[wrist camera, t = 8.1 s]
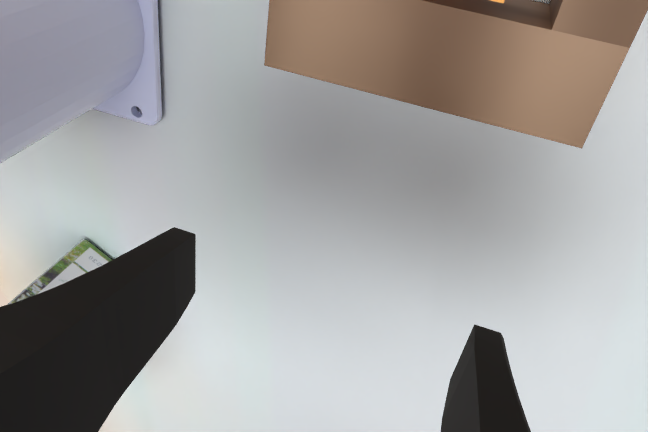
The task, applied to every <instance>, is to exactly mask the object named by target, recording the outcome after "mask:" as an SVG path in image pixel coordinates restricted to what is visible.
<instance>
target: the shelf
mask: <svg viewBox="0 0 648 432" xmlns="http://www.w3.org/2000/svg"><path fill="white" fill-rule="evenodd" d="M647 10H648V0H551V1H550V3H549V4H546V3H541V2H537V1H532V0H505V1H504V3H499V2H495V1H490V0H269V13H268V25H267V38H266V51H265V64H264V65H265V66H269V67H273V68H277V69H280V70H284V71H288V72H292V73H296V74H299V75H303V76H307V77H311V78H315V79H319V80H322V81H326V82H330V83H334V84H338V85H342V86H345V87H349V88H353V89H357V90H361V91H365V92H368V93H372V94H376V95H380V96H384V97H387V98H391V99H395V100H399V101H403V102H407V103H410V104H414V105H418V106H422V107H426V108H430V109H433V110H437V111H441V112H445V113H449V114H453V115H456V116H460V117H464V118H468V119H472V120H475V121H479V122H483V123H487V124H491V125H495V126H498V127H502V128H506V129H510V130H514V131H518V132H521V133H525V134H529V135H533V136H537V137H540V138H544V139H548V140H552V141H556V142H560V143H563V144H567V145H571V146H575V147H579V148H582V147H583V145H584V142H585V140H586V138H587V136H588V134H589V132H590V130H591V128H592V126H593V124H594V122H595V119H596V117H597V115H598V113H599V111H600V109H601V107H602V105H603V103H604V101H605V98H606V96H607V94H608V92H609V90H610V88H611V86H612V84H613V82H614V80H615V77H616V75H617V73H618V71H619V69H620V67H621V65H622V63H623V61H624V59H625V57H626V54H627V52H628V50H629V48H630V46H631V44H632V42H633V40H634V38H635V36H636V33H637V31H638V29H639V27H640V25H641V23H642V21H643V19H644V17H645V15H646V12H647Z"/></svg>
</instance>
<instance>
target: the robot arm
mask: <svg viewBox="0 0 648 432" xmlns="http://www.w3.org/2000/svg"><path fill="white" fill-rule="evenodd" d="M136 106H137V107H139V108H140V110H141V111H142V114H141V113H139V111H138V110H137V108H136ZM91 109H95V110H98V111H102V112H105V113H109V114H112V115H115V116H119V117H122V118H126V119H129V120H133V121H136V122H139V123H143V124H146V125H155V124H156V123H158V122H159V121H160V120H161V118H162V102H161V76H160V50H159V24H158V0H0V163H2V162H3V161H5V160H7V159H8V158H10V157H12V156H13V155H15V154H17V153H18V152H20V151H22V150H23V149H25V148H27V147H28V146H30V145H32V144H34V143H35V142H37V141H39V140H40V139H42V138H44V137H45V136H47V135H49V134H50V133H52V132H54V131H55V130H57V129H59V128H60V127H62V126H64V125H65V124H67V123H69V122H70V121H72V120H74V119H75V118H77V117H79V116H80V115H82V114H84V113H85V112H87V111H89V110H91ZM194 293H195V234H193V233H190V232H187V231H184V230H181V229H178V228H175V227H174V228H172V229H170V230H168V231H166V232H164V233H162V234H160V235H158V236H157V237H155V238H153V239H151V240H149V241H147V242H145V243H144V244H142V245H140V246H138V247H136V248H134V249H133V250H131V251H129V252H127V253H125V254H123V255H121V256H119V257H117V258H115V259H114V260H112V261H110V262H108V263H106V264H104V265H102V266H100V267H98V268H96V269H94V270H91V271H89V272H87V273H85V274H83V275H81V276H79V277H76V278H74V279H72V280H70V281H68V282H66V283H64V284H61V285H59V286H57V287H54V288H52V289H49V290H47V291H44V292H42V293H39V294H36V295H34V296H31V297H28V298H26V299H23V300H20V301H18V302H15V303H12V304H8V305H5V306H2V307H0V432H98V431H99V429H100V428H101V426H102V425H103V423H104V421H105V420H106V418H107V417H108V415H109V413H110V412H111V410H112V409H113V407H114V406H115V404H116V403H117V401H118V400H119V399H120V397H121V396H122V394H123V393H124V392H125V390H126V389H127V388H128V386H129V385H130V384H131V382H132V381H133V380H134V379H135V377H136V376H137V375H138V374H139V372H140V371H141V370H142V368H143V367H144V366H145V365H146V363H147V362H148V361H149V359H150V358H151V357H152V356H153V354H154V353H155V352H156V350H157V349H158V348H159V347H160V345H161V344H162V343H163V341H164V340H165V339H166V337H167V336H168V335H169V334H170V332H171V331H172V330H173V328H174V327H175V326H176V324H177V323H178V321H179V319H180V318H181V316H182V314H183V313H184V311H185V309H186V307H187V306H188V304H189V302H190V300H191V299H192V297H193V295H194ZM441 432H531V431H530V428H529V426H528V423H527V420H526V417H525V414H524V411H523V408H522V405H521V402H520V399H519V396H518V393H517V390H516V386H515V383H514V379H513V376H512V372H511V369H510V365H509V361H508V357H507V352H506V348H505V343H504V338H503V336H502V335H501V333H499V332H496V331H493V330H490V329H487V328H484V327H480V326H477V325H474V327H473V329H472V331H471V334H470V336H469V338H468V340H467V343H466V345H465V347H464V350H463V352H462V354H461V356H460V359H459V361H458V363H457V365H456V368H455V370H454V372H453V374H452V377H451V379H450V383H449V388H448V393H447V397H446V402H445V407H444V412H443V417H442V425H441Z"/></svg>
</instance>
